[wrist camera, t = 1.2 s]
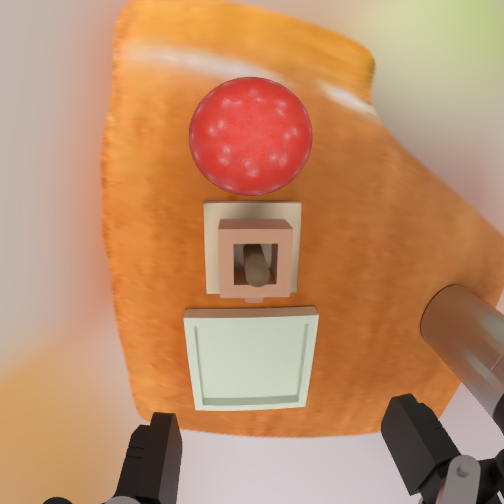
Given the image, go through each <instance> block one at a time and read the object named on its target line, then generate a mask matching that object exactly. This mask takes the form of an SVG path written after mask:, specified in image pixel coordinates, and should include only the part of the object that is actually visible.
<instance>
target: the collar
mask: <svg viewBox="0 0 504 504" xmlns="http://www.w3.org/2000/svg"><path fill="white" fill-rule="evenodd" d="M233 244H272V249H271V268H268V269H269V272H270V279H269V281H268V283H267V284H266V285H264V286H262V287H253V286H251V285H250V284H249V283H248V282H247V280H246V273H245V268H234V252H233ZM218 247H219V283H220V298H245V303H263V297H290V283H291V267H292V248H293V228H292V227H291V226H290V224H289V223H288V222H287V221H286V219H220V222H219V228H218Z"/></svg>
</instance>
